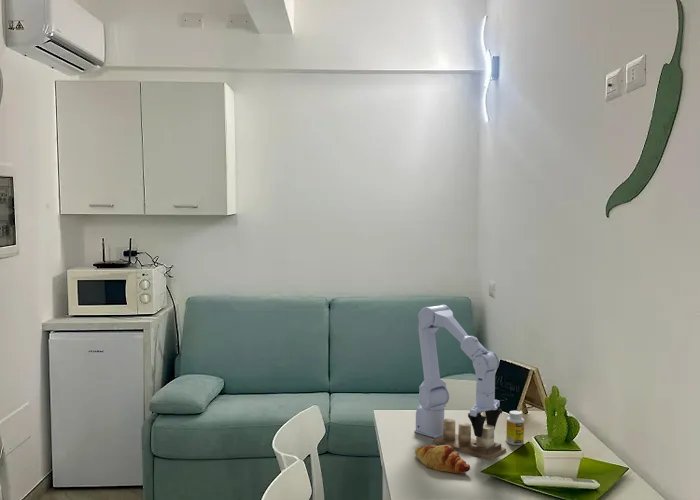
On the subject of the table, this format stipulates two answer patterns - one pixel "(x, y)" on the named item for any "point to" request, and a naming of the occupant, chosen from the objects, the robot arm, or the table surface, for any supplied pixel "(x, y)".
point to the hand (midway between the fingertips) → (484, 433)
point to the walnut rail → (465, 447)
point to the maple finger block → (486, 437)
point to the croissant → (442, 458)
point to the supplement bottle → (515, 428)
